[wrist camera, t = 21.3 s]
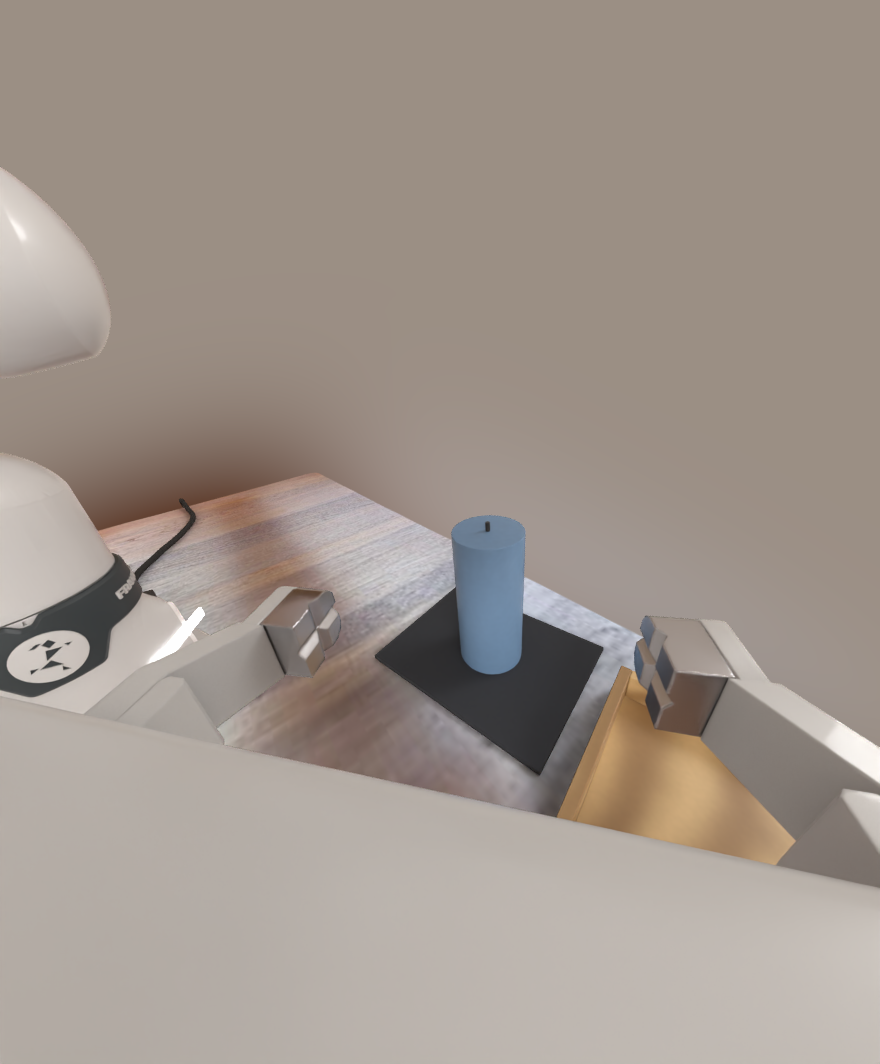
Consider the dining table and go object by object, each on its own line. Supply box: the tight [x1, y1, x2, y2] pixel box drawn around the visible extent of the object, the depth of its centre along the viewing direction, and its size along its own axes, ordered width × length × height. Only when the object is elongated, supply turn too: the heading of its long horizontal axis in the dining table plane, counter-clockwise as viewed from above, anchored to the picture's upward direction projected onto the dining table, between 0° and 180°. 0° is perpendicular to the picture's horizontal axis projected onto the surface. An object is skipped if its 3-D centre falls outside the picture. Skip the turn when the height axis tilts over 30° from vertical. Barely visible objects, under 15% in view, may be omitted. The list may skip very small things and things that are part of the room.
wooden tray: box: [557, 666, 796, 865], centre depth 19 cm, size 16×14×3 cm
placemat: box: [375, 587, 603, 775], centre depth 34 cm, size 18×14×1 cm
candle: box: [451, 515, 525, 674], centre depth 30 cm, size 6×6×14 cm
